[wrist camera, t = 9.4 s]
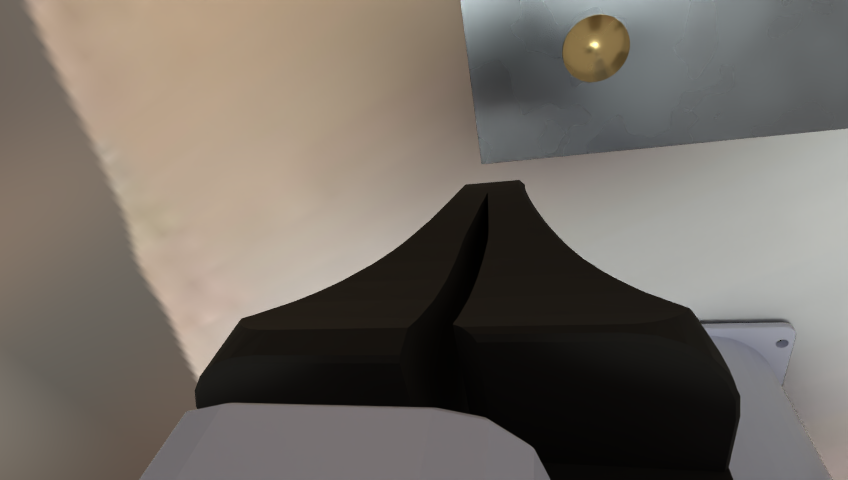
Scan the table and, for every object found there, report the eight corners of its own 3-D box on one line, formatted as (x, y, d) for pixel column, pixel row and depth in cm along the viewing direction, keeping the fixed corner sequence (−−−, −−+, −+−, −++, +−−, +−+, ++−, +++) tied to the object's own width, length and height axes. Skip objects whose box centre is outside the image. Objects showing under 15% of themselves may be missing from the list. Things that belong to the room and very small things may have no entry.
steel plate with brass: (1108, 65, 16) (1219, 93, 13) (487, 134, 21) (481, 165, 18) (1255, -221, 12) (1446, -258, 10) (464, -57, 17) (453, -53, 15)
